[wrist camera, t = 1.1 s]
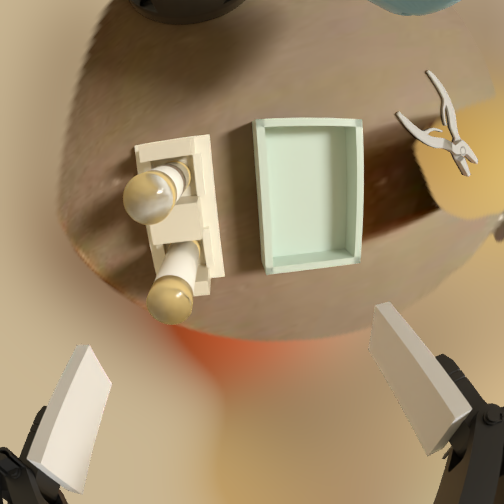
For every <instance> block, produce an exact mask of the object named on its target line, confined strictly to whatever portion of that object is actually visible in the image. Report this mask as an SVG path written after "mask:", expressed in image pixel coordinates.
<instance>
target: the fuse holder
mask: <svg viewBox="0 0 504 504" xmlns="http://www.w3.org/2000/svg"><path fill="white" fill-rule="evenodd" d="M135 155H136V163H137V171H138V174H141V173H143V172H145V171H149V170H152V169H154V168H156V167H158V166H160V165H163V164H165V163H167V162H169V161H173V160H178V161H182V162H184V163H185V164H186V165H187V166H188V167H189V169H190V171H191V182H190V184H189V186H188V187H187V189H186V190H185V191H184V192H183V194H182V195H181V197H180V198H179V199H178V201H177V202H176V204H175V206H174V208H173V209H172V211H171V212H170V213H169V215H168V216H167V217H166V218H165V219H164V220H163V221H161V222H159V223H157V224H153V225H146V228H147V233H148V238H149V243H150V248H151V253H152V258H153V263H154V267H155V272H156V276H157V274H158V271H159V269H160V267H161V264H162V262H163V260H164V258H165V255H166V253H167V251H168V247H169V245H170V243H175V242H184V241H193V240H198V241H199V243H200V246H201V251H200V257H199V260H198V267H197V273H196V280H195V286H194V293H193V295H194V296H200V295H210V281H211V278H216V277H225V273H224V265H223V257H222V249H221V240H220V232H219V223H218V214H217V205H216V195H215V186H214V176H213V166H212V155H211V144H210V135H209V134H208V135H200V136H192V137H184V138H177V139H171V140H164V141H158V142H152V143H147V144H141V145H136V146H135Z"/></svg>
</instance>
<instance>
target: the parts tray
mask: <svg viewBox="0 0 504 504" xmlns="http://www.w3.org/2000/svg"><path fill="white" fill-rule="evenodd" d="M252 131H253V145H254V158H255V172H256V185H257V200H258V214H259V228H260V243H261V258H262V264H263V267H264V270H265V273H266V275H268V274H277V273H285V272H294V271H302V270H310V269H318V268H325V267H333V266H341V265H348V264H356V263H360V258H361V243H362V225H363V196H364V156H363V127H362V119H343V118H271V119H255V120H254V121H252Z"/></svg>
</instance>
